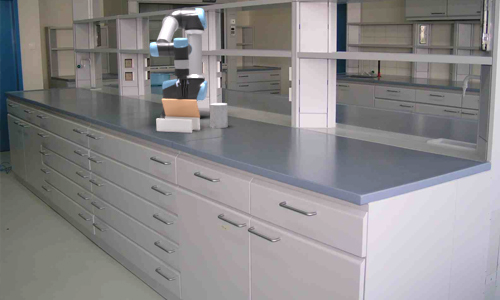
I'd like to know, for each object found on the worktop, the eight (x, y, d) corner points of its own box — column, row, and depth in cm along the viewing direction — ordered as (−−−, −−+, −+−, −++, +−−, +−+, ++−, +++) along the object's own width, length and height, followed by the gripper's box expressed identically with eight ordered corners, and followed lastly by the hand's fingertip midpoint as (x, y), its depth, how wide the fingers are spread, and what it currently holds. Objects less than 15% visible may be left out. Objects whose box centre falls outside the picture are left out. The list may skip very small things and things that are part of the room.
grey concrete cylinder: (216, 128, 290) (215, 105, 288) (206, 126, 298) (206, 103, 295) (231, 126, 295) (230, 104, 293) (221, 124, 303) (220, 102, 301)
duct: (166, 128, 294) (165, 116, 292) (199, 129, 286) (199, 117, 285) (156, 131, 284) (156, 118, 283) (191, 132, 277) (190, 120, 276)
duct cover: (165, 116, 292) (166, 115, 293) (199, 117, 285) (200, 116, 286) (161, 99, 287) (162, 98, 288) (195, 100, 280) (196, 99, 281)
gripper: (181, 67, 292) (183, 111, 296) (169, 68, 280) (171, 114, 285) (193, 67, 289) (195, 112, 294) (182, 68, 277) (184, 115, 282)
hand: (183, 113), depth 289 cm, fingers closed
